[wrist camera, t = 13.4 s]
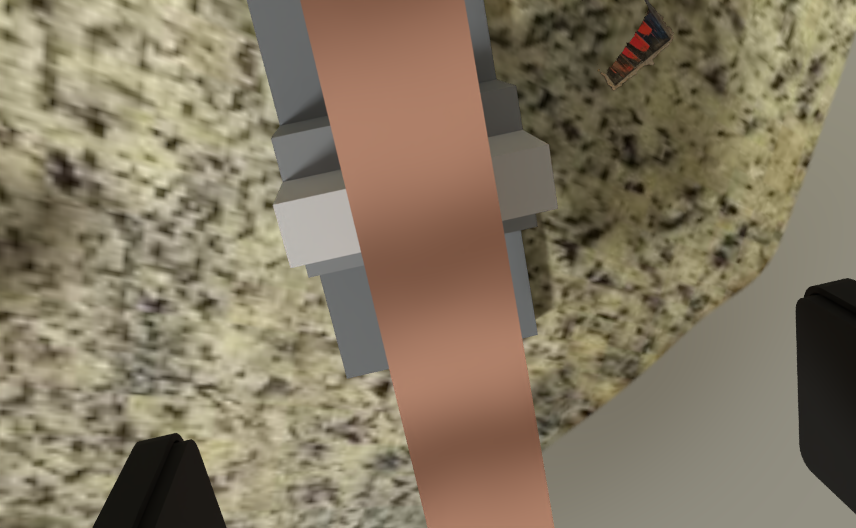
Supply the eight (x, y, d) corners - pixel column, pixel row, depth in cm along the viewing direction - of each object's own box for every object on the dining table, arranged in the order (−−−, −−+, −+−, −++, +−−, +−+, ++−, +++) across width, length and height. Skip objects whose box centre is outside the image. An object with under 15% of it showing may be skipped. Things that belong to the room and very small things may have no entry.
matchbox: (606, -39, 33) (609, -40, 33) (686, 27, 34) (690, 27, 34) (546, 47, 34) (548, 48, 34) (626, 109, 35) (629, 110, 35)
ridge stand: (241, -37, 31) (198, -65, 22) (463, -83, 31) (509, -129, 22) (347, 365, 38) (346, 470, 29) (530, 323, 38) (587, 413, 29)
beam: (281, -122, 22) (257, -175, 16) (407, -147, 22) (428, -208, 16) (422, 472, 29) (440, 579, 23) (517, 450, 29) (558, 551, 23)
